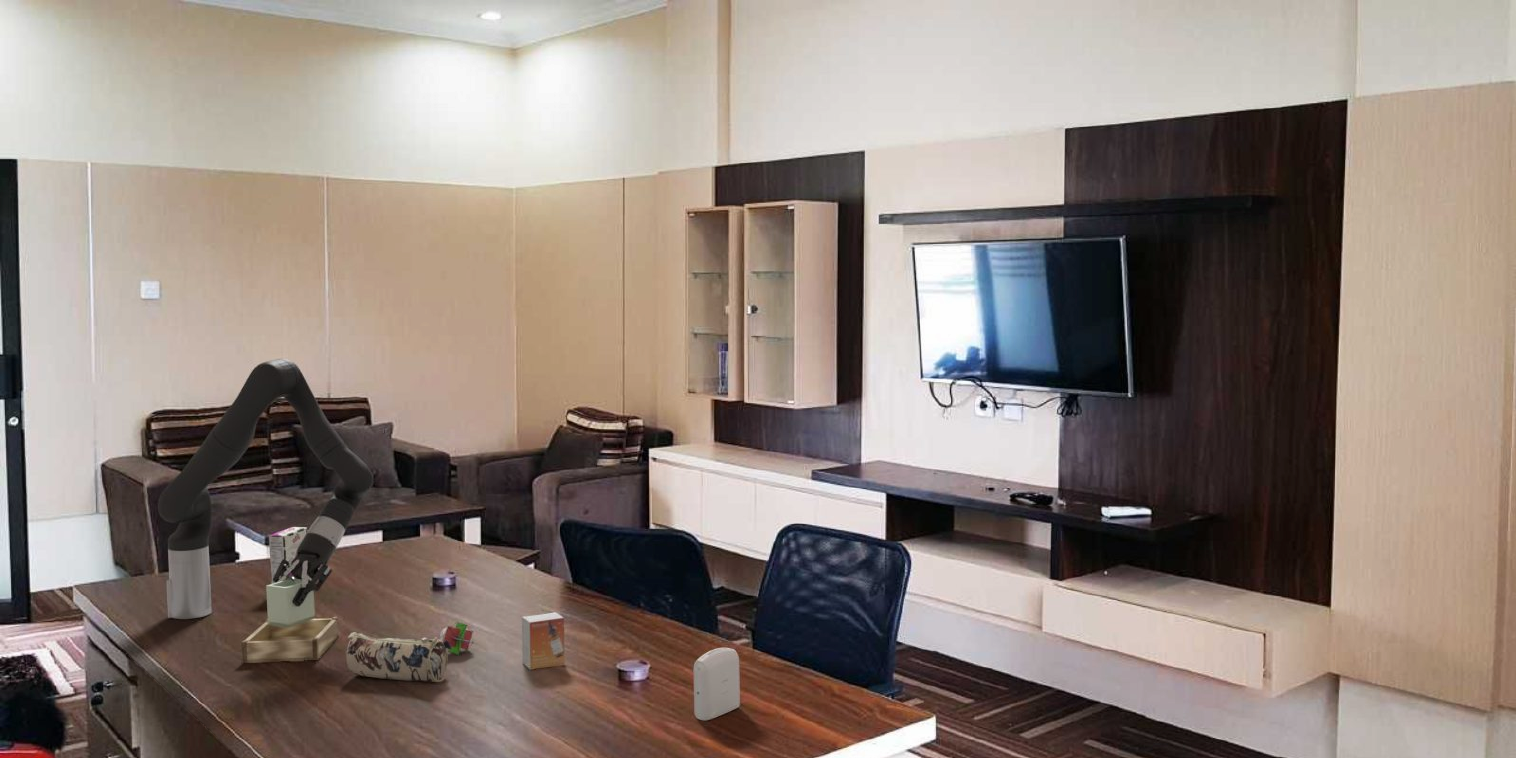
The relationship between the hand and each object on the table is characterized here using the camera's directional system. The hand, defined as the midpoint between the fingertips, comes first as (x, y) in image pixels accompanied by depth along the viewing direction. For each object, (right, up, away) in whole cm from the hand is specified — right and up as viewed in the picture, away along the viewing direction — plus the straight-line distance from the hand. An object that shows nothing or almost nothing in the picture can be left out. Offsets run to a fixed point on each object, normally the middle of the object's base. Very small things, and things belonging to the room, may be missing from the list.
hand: (284, 602), depth 279 cm
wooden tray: (+1, -11, +2) cm, 11 cm away
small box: (+60, -12, -10) cm, 62 cm away
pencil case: (+31, -13, -18) cm, 38 cm away
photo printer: (+99, -14, -41) cm, 107 cm away
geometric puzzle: (+39, -11, 0) cm, 41 cm away
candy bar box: (-20, -7, +56) cm, 60 cm away
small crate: (+1, -5, +2) cm, 5 cm away
